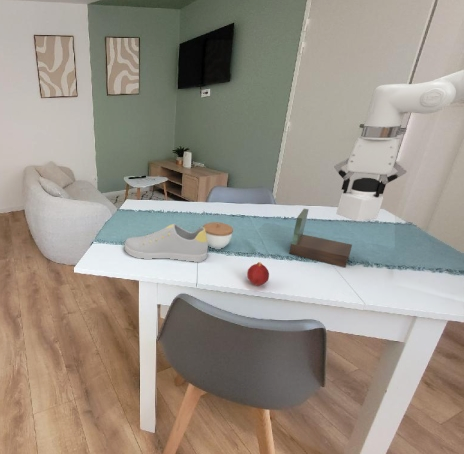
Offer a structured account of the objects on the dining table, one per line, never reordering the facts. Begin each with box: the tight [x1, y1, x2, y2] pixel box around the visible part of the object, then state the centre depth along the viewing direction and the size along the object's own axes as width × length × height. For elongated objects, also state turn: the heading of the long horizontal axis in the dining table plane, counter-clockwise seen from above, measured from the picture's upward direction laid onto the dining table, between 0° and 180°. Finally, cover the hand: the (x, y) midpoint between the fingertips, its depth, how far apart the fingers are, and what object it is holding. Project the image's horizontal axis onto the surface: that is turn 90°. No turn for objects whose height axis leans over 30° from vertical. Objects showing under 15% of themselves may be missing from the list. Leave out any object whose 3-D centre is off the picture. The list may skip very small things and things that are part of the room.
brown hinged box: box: [288, 208, 353, 268], centre depth 100 cm, size 16×11×14 cm
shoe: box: [124, 223, 209, 263], centre depth 106 cm, size 10×30×12 cm, turn 71°
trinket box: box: [202, 221, 234, 250], centre depth 111 cm, size 11×11×9 cm
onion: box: [246, 261, 270, 287], centre depth 86 cm, size 6×6×8 cm
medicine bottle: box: [336, 176, 384, 222], centre depth 88 cm, size 7×7×12 cm
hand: (360, 193), depth 88 cm, fingers closed on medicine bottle, 6 cm apart
